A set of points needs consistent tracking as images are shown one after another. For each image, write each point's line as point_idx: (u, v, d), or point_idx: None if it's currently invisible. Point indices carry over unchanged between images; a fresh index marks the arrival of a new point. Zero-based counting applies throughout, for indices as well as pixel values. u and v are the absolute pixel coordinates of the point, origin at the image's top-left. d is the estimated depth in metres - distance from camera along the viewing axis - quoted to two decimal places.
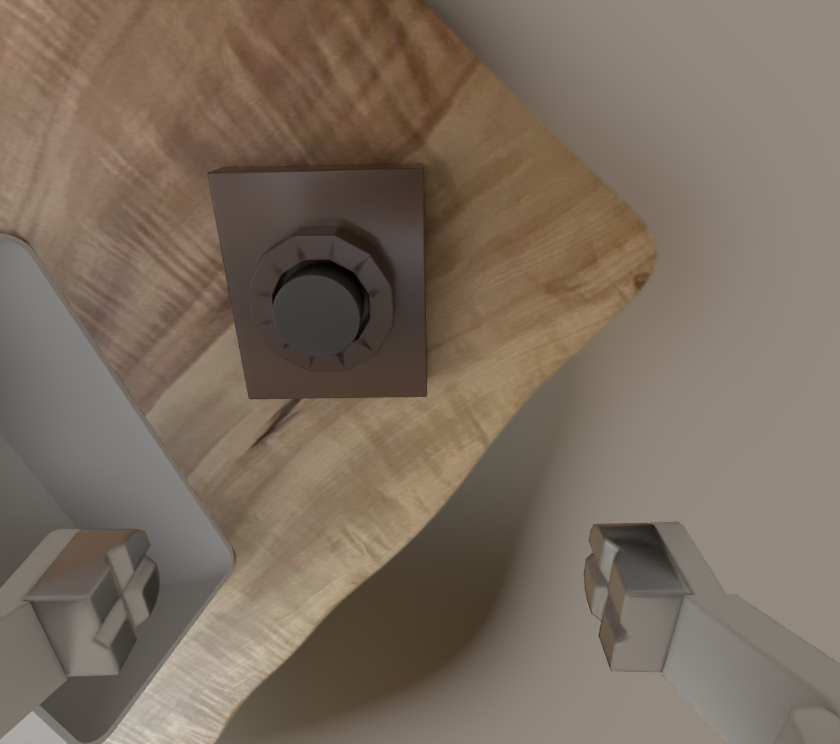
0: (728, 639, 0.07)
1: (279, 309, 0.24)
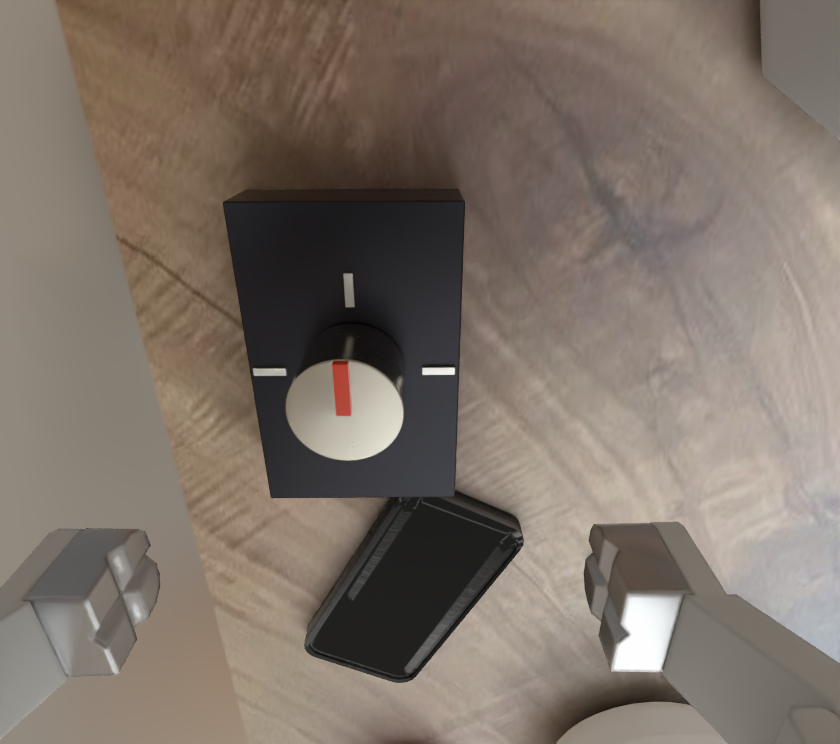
0: (728, 639, 0.07)
1: None
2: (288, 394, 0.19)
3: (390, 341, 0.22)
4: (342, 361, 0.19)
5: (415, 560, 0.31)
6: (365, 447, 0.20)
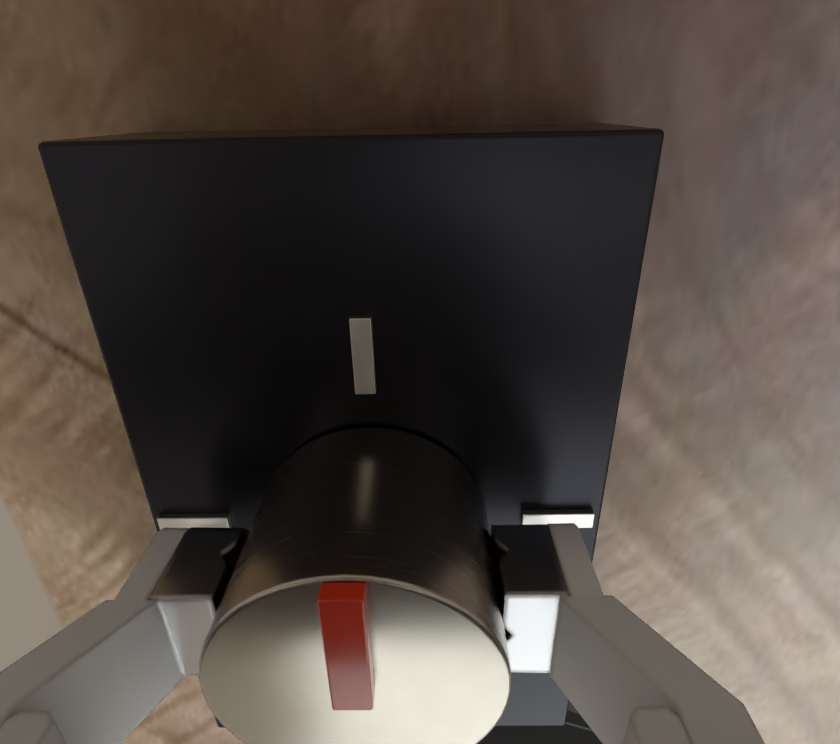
0: (596, 640, 0.07)
1: None
2: (203, 654, 0.07)
3: (457, 468, 0.10)
4: (349, 586, 0.06)
5: None
6: None
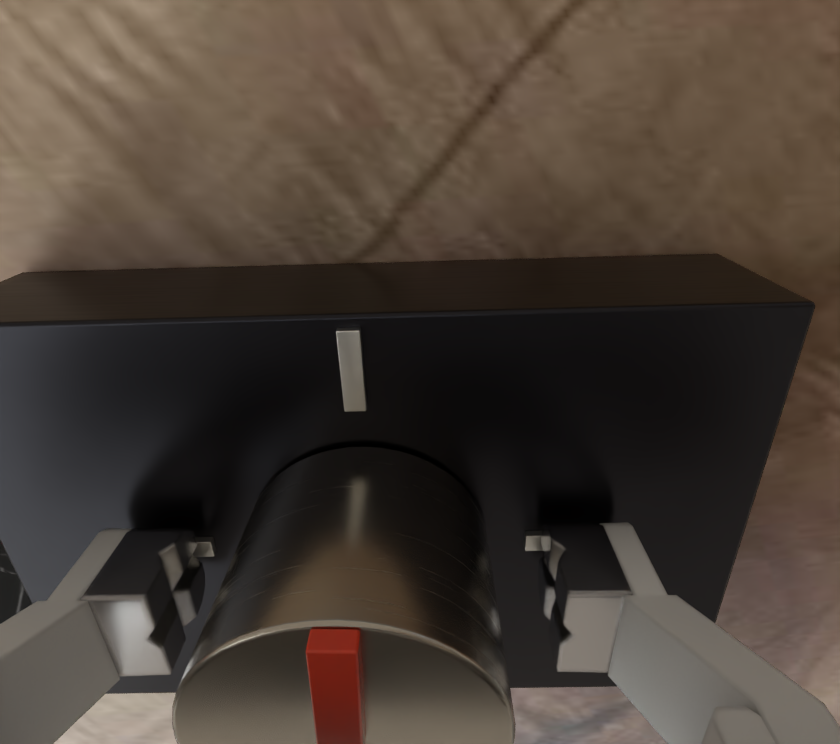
0: (664, 640, 0.07)
1: None
2: (177, 699, 0.07)
3: (459, 492, 0.09)
4: (341, 633, 0.06)
5: None
6: None
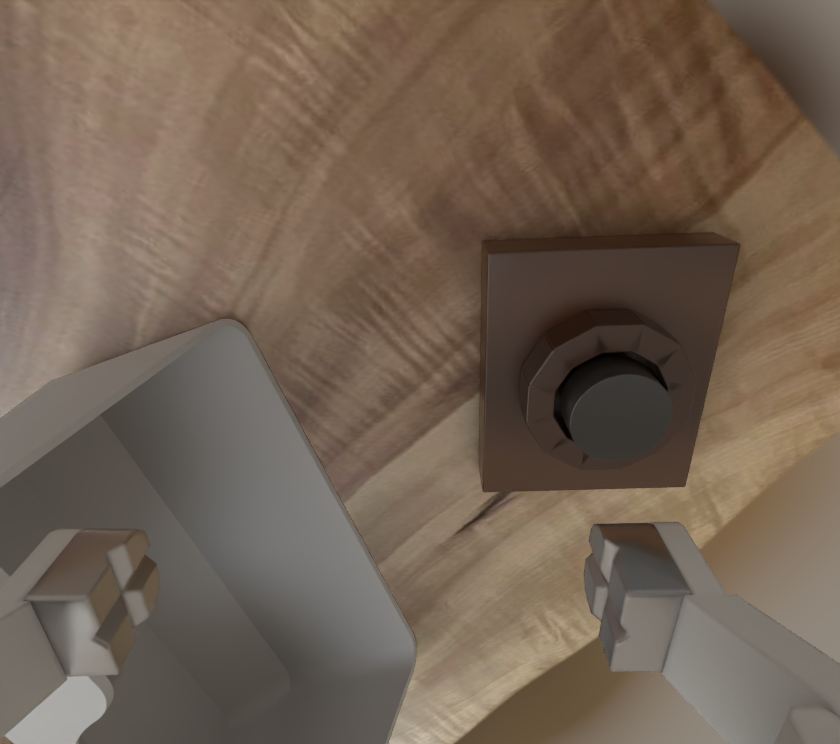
0: (728, 639, 0.07)
1: (580, 411, 0.21)
2: None
3: None
4: None
5: None
6: None
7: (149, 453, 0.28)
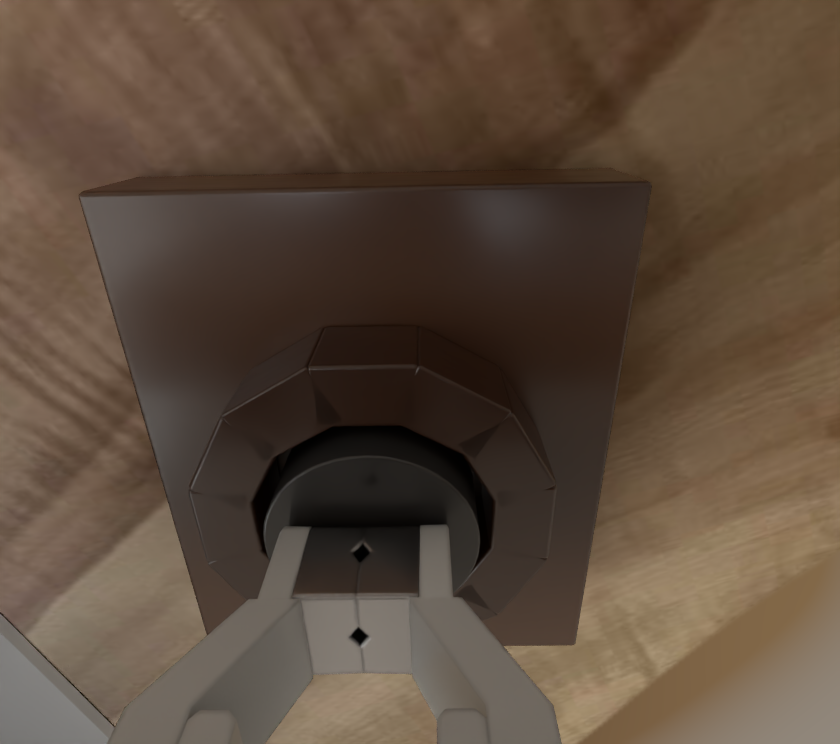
0: (434, 642, 0.07)
1: (280, 529, 0.10)
2: None
3: None
4: None
5: None
6: None
7: None
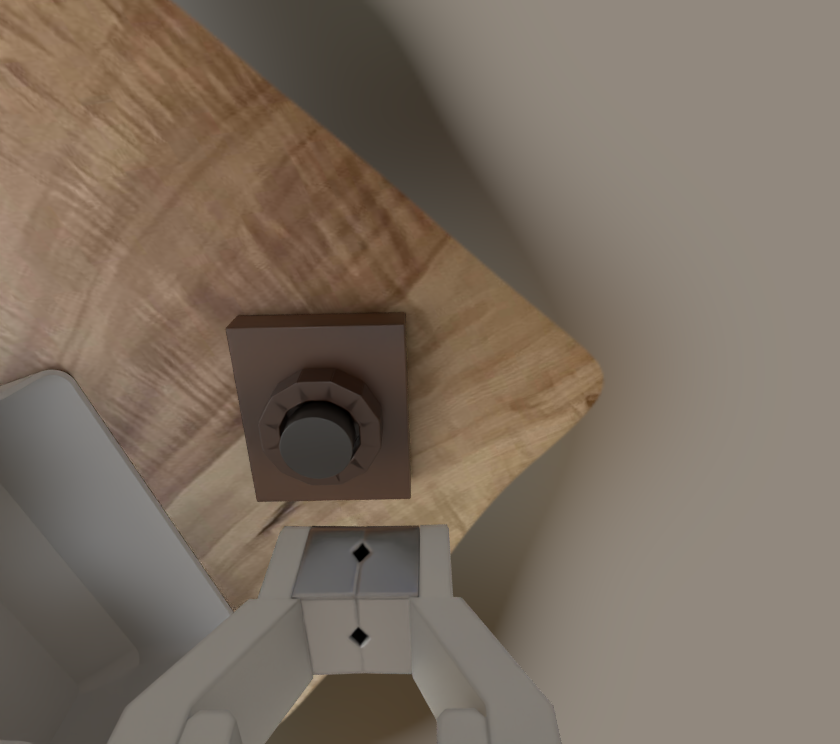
0: (434, 642, 0.07)
1: (285, 443, 0.29)
2: None
3: None
4: None
5: None
6: None
7: (5, 469, 0.36)
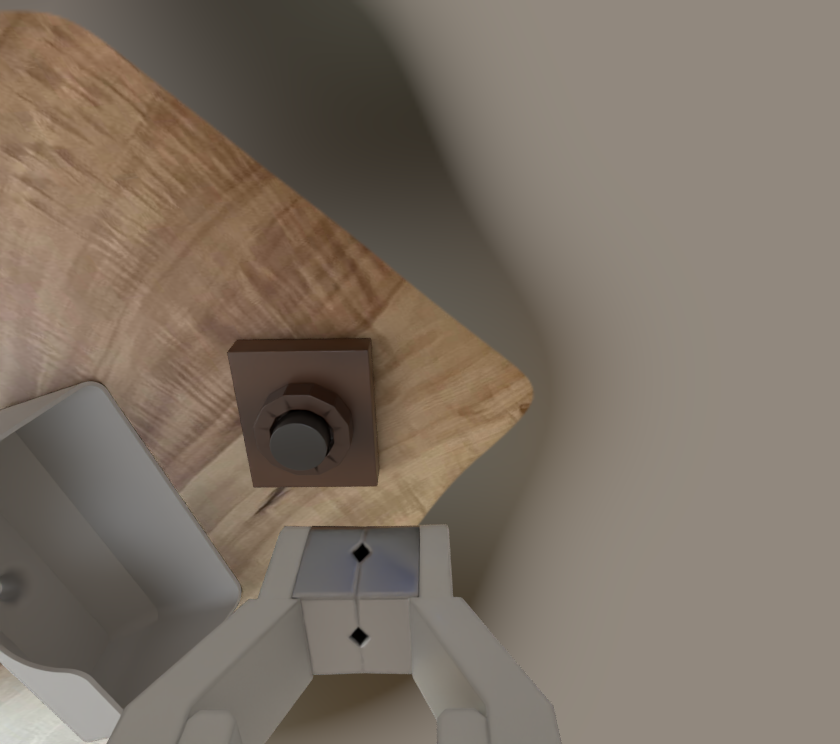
0: (434, 641, 0.07)
1: (274, 443, 0.37)
2: None
3: None
4: None
5: None
6: None
7: (50, 459, 0.44)
